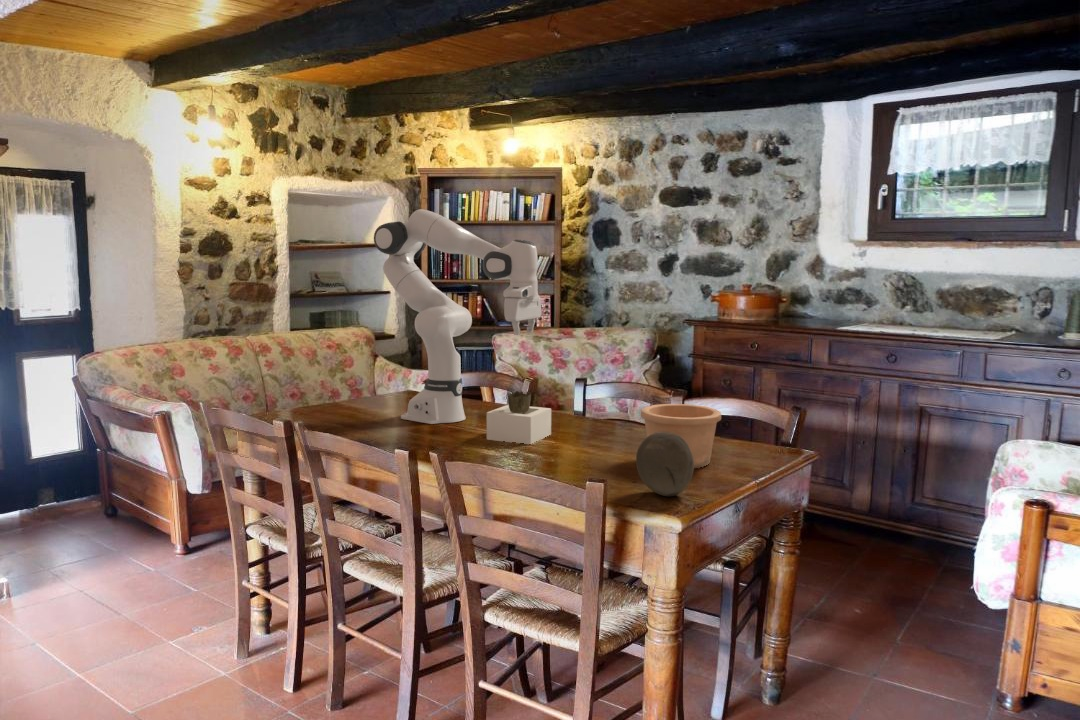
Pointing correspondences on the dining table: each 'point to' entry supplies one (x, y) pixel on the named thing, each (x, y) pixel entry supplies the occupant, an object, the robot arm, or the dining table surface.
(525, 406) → the cup
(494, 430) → the cream box
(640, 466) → the dark round stone
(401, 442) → the dining table surface
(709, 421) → the pottery
